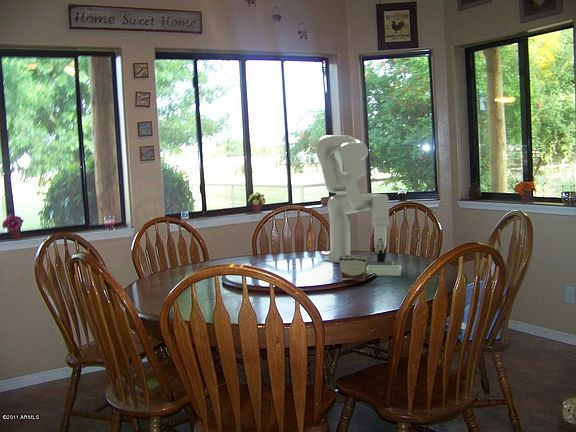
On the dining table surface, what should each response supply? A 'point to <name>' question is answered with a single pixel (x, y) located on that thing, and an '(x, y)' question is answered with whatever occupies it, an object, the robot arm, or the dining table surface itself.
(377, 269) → the sage trough
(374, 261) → the gray cylinder
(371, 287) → the dining table surface
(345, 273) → the food container
